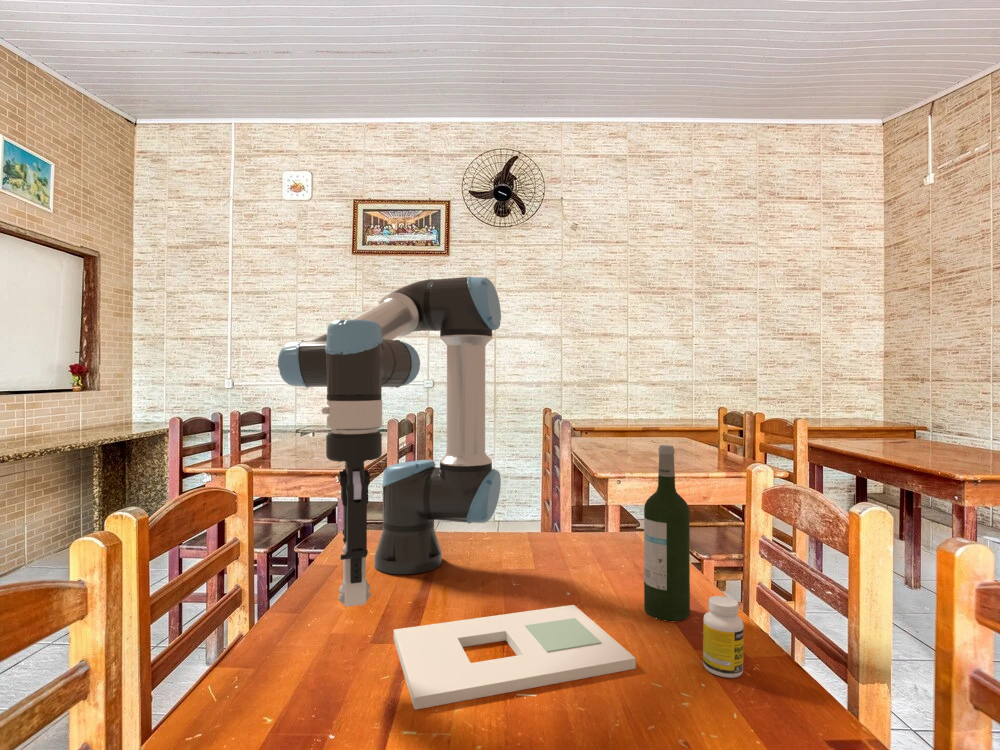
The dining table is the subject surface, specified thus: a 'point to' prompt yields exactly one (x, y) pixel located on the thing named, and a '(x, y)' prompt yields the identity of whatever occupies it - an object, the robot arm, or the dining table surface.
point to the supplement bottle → (723, 638)
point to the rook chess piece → (342, 587)
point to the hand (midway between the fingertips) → (354, 596)
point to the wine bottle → (666, 546)
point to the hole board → (533, 637)
